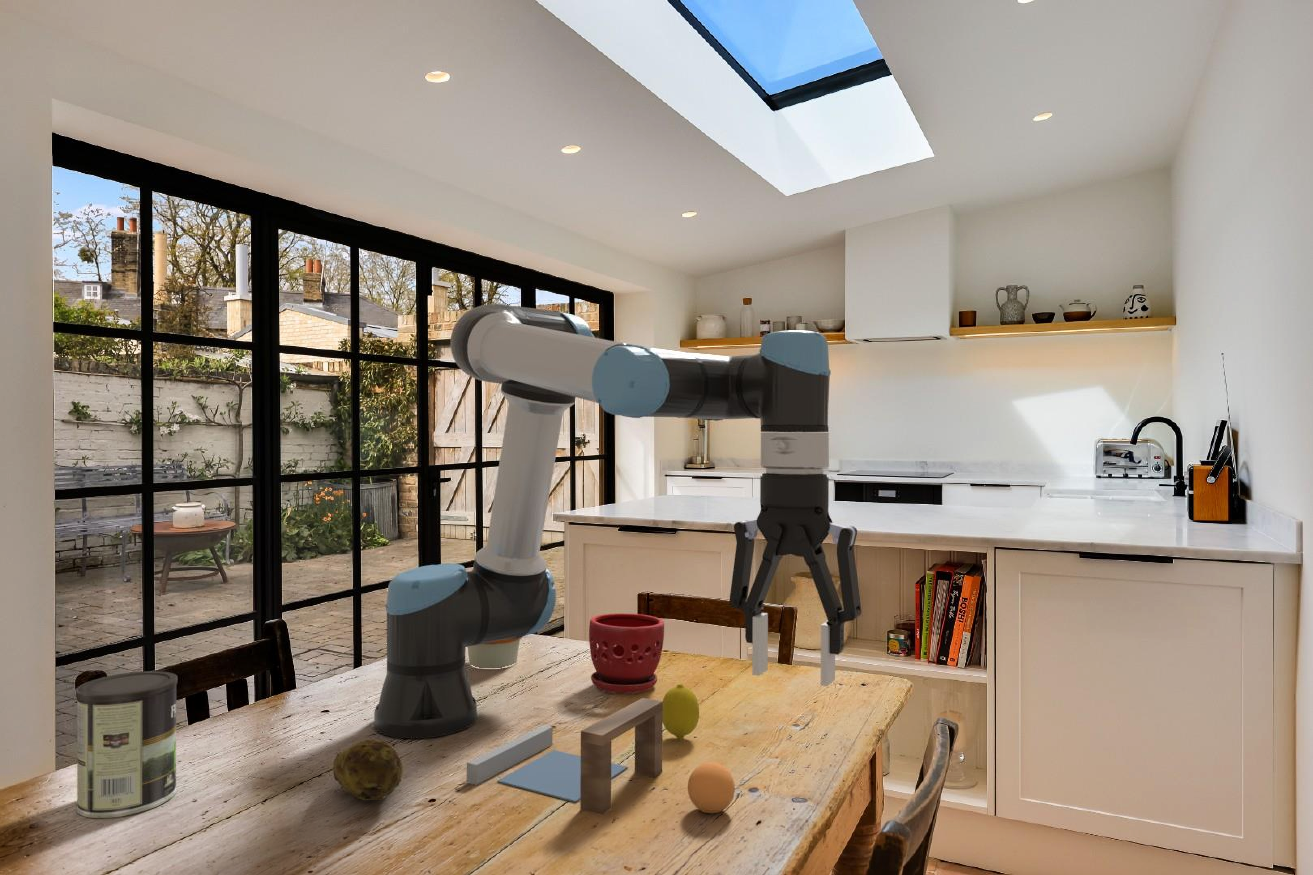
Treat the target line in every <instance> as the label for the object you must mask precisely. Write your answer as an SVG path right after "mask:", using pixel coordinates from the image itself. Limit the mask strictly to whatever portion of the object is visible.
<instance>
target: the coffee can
mask: <svg viewBox="0 0 1313 875" xmlns="http://www.w3.org/2000/svg"><path fill="white" fill-rule="evenodd" d="M178 678H179V677H178V675H177V674H175V673H173V672H170V671H161V670H160V671H159V670H146V671H133V672H132V671H131V672H125V673H124V672H123V673H118V674H117V673H116V674H113V675H108V676H103V677H99V678H97V679H92V680H90V681H87V682H85V683H84V682H83V684H81V685H79V686H78V687H76V689H75V697H76V698H77V699H76V700H77V701H76V702H77V703H76V704H77V705H76V706H77V710H76V712H77V713H76V714H77V715H76V721H77V726H76V730H77V732H76V733H77V737H76V740H77V741H76V744H77V746H76V747H77V749H76V750H77V751H76V752H77V753H76V754H77V755H76V756H77V758H76V759H77V760H76V761H77V762H76V763H77V764H76V765H77V767H76V768H77V770H76V771H77V774H76V775H77V776H76V777H77V779H76V780H77V781H76V782H77V786H76V787H77V788H76V790H77V791H76V792H77V793H76V796H77V798H76V800H77V801H76V803H77V804H76V809H75V810H76V812H77V814H79V815H80V816H83V817H84V818H89V819H113V818H120V817H125V816H130V815H134V814H135V815H136V814H139V813H142V812H146V811H149V810H151V809H154V808H157V807H159V806H162V805H163V804H165V803H167V802H168V801H170V800H171V799H173V797H175V795H176V794H177V791H178V788H177V684H178Z"/></svg>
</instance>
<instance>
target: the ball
mask: <svg viewBox="0 0 1313 875" xmlns="http://www.w3.org/2000/svg"><path fill="white" fill-rule="evenodd" d="M687 782H688V783H687V794H688V796H689V799H690V801H691V802H692V804H693V805H694V806H695V808H697V809H698V810H699V811H701V812H703V813H707V814H718V813H721V812H722V811H724V810H725V809H727V808H728V807H729V806H730V805H731V803H732V801H733V799H734V797H735V790H736V789H735V788H736V787H735V780H734V778H733V775H732V774H731V772H730V771H729V770H728V769H727V768H726V767H725V766H724V765H722V764H720V763H717V762H713V761H712V762H711V761H709V762H705V763H702V764H699V765H698V766H697V767H695V768H694V769H693V771H692V772H691V773H690V775H689V779H688V781H687Z"/></svg>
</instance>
